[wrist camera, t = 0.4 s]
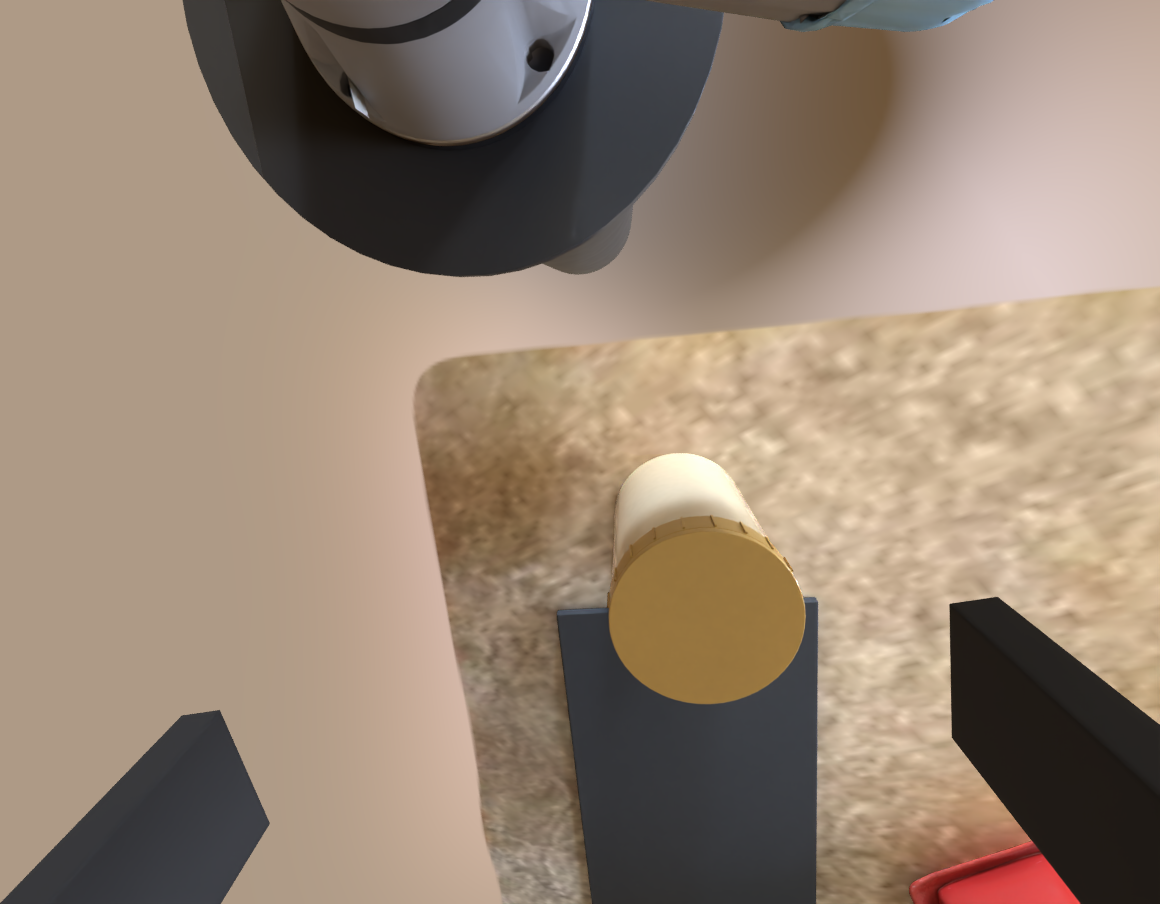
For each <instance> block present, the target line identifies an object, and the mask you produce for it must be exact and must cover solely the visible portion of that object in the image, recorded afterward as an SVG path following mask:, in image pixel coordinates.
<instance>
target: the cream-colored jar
mask: <svg viewBox="0 0 1160 904" xmlns="http://www.w3.org/2000/svg"><path fill="white" fill-rule="evenodd" d="M710 515H713V516H714V517H721V518H725V519H729V520H733V521H736V522H740V521H741V522H743V524H744V525H746V526H748V527H750V528H752V529H753V530H755V531H757V532H758V533H760V534H761V535H762V536H764V537H765V536H767V535H766V534H765V532H764V530H763V529H762V527H761V525H760V524H759V522H758V520H757V519H756V517H755V515H754V514H753V512H752V511H751V509H750V507H749V506H748V504H747V502H746V501H745V499H744V497H743V496H742V494H741V492H740V491H739V489H738V487H737V486H736V484H735V482H734V481H733V479H732V478H731V477H730V476H729V474H728V473H727V472H726V471H725V470H724V469H723V468H721V467H720V466H719V465H717V464H716V463H714V462H712V461H710V460H709V459H706V458H703V457H701V456H697V455H693V454H685V453H674V454H667V455H663V456H659V457H656V458H654V459H651V460H649V461H647V462H646V463H644V464H642V465H641V466H640V467H638V468H637V469H636V470H635V471H634V472H633V473H632V474H631V475H630V476H629V477H628V478H627V480H626V481H625V482H624V484H623V486H622V487H621V489H620V492H619V494H618V497H617V501H616V507H615V524H614V550H613V575H614V568H615V567H617V566H618V564H619V562H620V560H621V559H622V557H623V555H624V554H625V553H626V552H627V550H628V549H629V545H630V544H631V545H633V544H634V543H635V542H636V541H637V540H638V539H639V538H640V537H642V536H643V535H645V534H646V533H647V532H649V531H650V530H652V527H654V528H656V527H658V526H660V525H662V524H665V523H667V522H670V521H673V520H677V519H680V517H683V518H685V517H693V516H710ZM612 579H613V576H612Z"/></svg>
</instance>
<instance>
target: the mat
mask: <svg viewBox="0 0 1160 904" xmlns="http://www.w3.org/2000/svg"><path fill="white" fill-rule="evenodd" d="M803 600H804V604H805V615H806V618H805V629H804V633H803V638H802V641H801V644H800V646H799V649H798V651H797V653H796V655H795V656H794V658H793V660H792V661H791V663H790V664H789V665H788V667H787V668H786V669H785V670H784V671H783V672H782V673H781V674H780V675H779V676H778V677H777V678H776V679H775V680H774V681H773V682H771V683H770V684H769V685H767V686H766V687H764V688H762V689H761V690H759V691H757V692H755V693H753V694H751V695H749V696H747V697H744V698H741V699H738V700H735V701H730V702H725V703H717V704H695V703H687V702H682V701H678V700H674V699H671V698H669V697H666V696H663V695H661V694H659V693H657V692H655V691H653V690H651V689H650V688H648V687H647V686H645V685H644V684H642V683H641V682H640V681H639V680H638V679H637V678H635V677H634V676H633V675H632V674H631V672H630V671H629V670H628V669H627V668H626V667H625V665H624V664H623V662H622V661H621V659H620V658H619V656H618V654H617V652H616V650H615V648H614V645H613V642H612V639H611V635H610V629H609V608H594V609H574V610H558V612H557V621H558V629H559V638H560V646H561V654H562V662H563V670H564V678H565V687H566V695H567V703H568V711H569V719H570V727H571V736H572V744H573V752H574V760H575V768H576V776H577V784H578V793H579V801H580V809H581V817H582V825H583V833H584V842H585V850H586V858H587V866H588V874H589V882H590V891H591V899H592V904H816V829H817V673H818V601H817V600H816V598H815V597H809V598H803Z"/></svg>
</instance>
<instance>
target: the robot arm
mask: <svg viewBox="0 0 1160 904" xmlns="http://www.w3.org/2000/svg"><path fill="white" fill-rule="evenodd" d="M281 1H282V4H283V6H284V8H285V10H286V12H287V14H288V16H289V18H290V20H291V22H292V25H293V27H294V29H295V31H296V33H297V35H298V37H299V39H300V41H301V43H302V45H303V47H304V49H305V50H306V52H307V54H308V56H309V58H310V59H311V61H312V62H313V64H314V66H315V67H316V69H317V70H318V72H319V73H320V74H321V76H322V77H323V78H324V80H325V81H326V82H327V84H328V85H329V86H330V87H331V88H332V89H333V91H334V92H335V93H336V94H337V95H338V96H339V97H340V98H341V99H342V100H343V101H344V102H345V103H346V104H348V105H349V106H350V107H351V108H352V109H353V110H355V111H356V112H357V113H359V114H360V115H361V116H363V117H364V118H365V119H367V120H368V121H370V122H371V123H373V124H374V125H375V126H377V127H379V128H380V129H382V130H383V131H385V132H387V133H388V134H390V135H392V136H394V137H396V138H398V139H400V140H403V141H406V142H409V143H411V144H414V145H418V146H422V147H426V148H432V149H439V150H464V149H471V148H477V147H482V146H485V145H488V144H491V143H495V142H497V141H499V140H502V139H504V138H506V137H508V136H510V135H512V134H513V133H515V132H517V131H519V130H520V129H522V128H523V127H525V126H526V125H527V124H529V123H530V122H532V121H533V120H534V119H535V118H536V117H537V116H538V115H540V114H541V113H542V112H543V111H544V110H545V109H546V108H547V107H548V105H549V104H550V103H551V102H552V101H553V100H554V99H555V97H556V96H557V95H558V93H559V92H560V91H561V90H562V88H563V87H564V85H565V83H566V82H567V80H568V79H569V77H570V75H571V73H572V72H573V70H574V68H575V66H576V64H577V62H578V59H579V57H580V55H581V52H582V50H583V47H584V44H585V41H586V38H587V35H588V31H589V27H590V23H591V18H592V14H593V6H594V0H281ZM647 1H653V2H660V3H666V4H673V5H679V6H686V7H692V8H699V9H706V10H712V11H719V12H725V13H732V14H738V15H745V16H752V17H758V18H764V19H771V20H777V21H780V22H781V24H782V25H783V26H784V28H786V29H790V30H796V31H801V32H805V31H816V30H819V29H822V28H825V27H828V26H831V25H834V26H847V27H859V28H871V29H882V30H892V31H903V32H908V31H909V32H910V31H921V30H927V29H932V28H936V27H940V26H943V25H946V24H948V23H950V22H952V21H953V20H955V19H957V18H958V17H960V16H962V15H964V14H965V13H967V12H968V11H971V10H974V9H976V8H977V7H979V6H982V5H985V4H987V3H990V2H992V1H993V0H647ZM950 655H951V712H952V738H953V740H954V741H955V742H956V743H957V745H958V746H959V747H960V749H961V750H962V751H963V752H964V754H965V755H966V756H967V758H968V759H969V760H970V762H971V763H972V764H973V765H974V767H975V768H976V769H977V771H978V772H979V773H980V774H981V776H982V777H983V778H984V780H985V781H986V782H987V783H988V785H989V786H990V787H991V789H992V790H993V791H994V793H995V794H996V795H997V796H998V798H999V799H1000V800H1001V802H1002V803H1003V804H1004V805H1005V807H1006V808H1007V809H1008V811H1009V812H1010V813H1011V814H1012V816H1013V817H1014V818H1015V820H1016V821H1017V822H1018V824H1019V825H1020V826H1021V827H1022V829H1023V830H1024V831H1025V833H1026V834H1027V835H1028V836H1029V838H1030V839H1031V840H1032V842H1033V843H1034V844H1035V846H1036V847H1037V848H1038V849H1039V851H1040V852H1041V853H1042V855H1043V856H1044V857H1045V858H1046V860H1047V861H1048V862H1049V864H1050V865H1051V866H1052V867H1053V869H1054V870H1055V871H1056V873H1057V874H1058V875H1059V877H1060V878H1061V879H1062V880H1063V882H1064V883H1065V884H1066V886H1067V887H1068V888H1069V889H1070V891H1071V892H1072V893H1073V895H1074V896H1075V897H1076V898H1077V900H1078V901H1079V902H1080V904H1160V725H1159V724H1158V723H1157V722H1155V721H1154V720H1153V719H1152V718H1150V717H1149V716H1148V715H1147V714H1145V713H1144V712H1143V711H1141V710H1140V709H1139V708H1138V707H1136V706H1135V705H1134V704H1133V703H1131V702H1130V701H1129V700H1128V699H1126V698H1125V697H1124V696H1122V695H1121V694H1120V693H1119V692H1117V691H1116V690H1115V689H1114V688H1112V687H1111V686H1110V685H1109V684H1107V683H1106V682H1105V681H1103V680H1102V679H1101V678H1100V677H1098V676H1097V675H1096V674H1095V673H1093V672H1092V671H1091V670H1090V669H1088V668H1087V667H1086V666H1084V665H1083V664H1082V663H1081V662H1079V661H1078V660H1077V659H1076V658H1074V657H1073V656H1072V655H1071V654H1069V653H1068V652H1067V651H1065V650H1064V649H1063V648H1062V647H1060V646H1059V645H1058V644H1057V643H1055V642H1054V641H1053V640H1052V639H1050V638H1049V637H1048V636H1046V635H1045V634H1044V633H1043V632H1041V631H1040V630H1039V629H1038V628H1036V627H1035V626H1034V625H1033V624H1031V623H1030V622H1029V621H1027V620H1026V619H1025V618H1024V617H1022V616H1021V615H1020V614H1019V613H1017V612H1016V611H1015V610H1014V609H1012V608H1011V607H1010V606H1008V605H1007V604H1006V603H1005V602H1003V601H1002V600H1001V599H1000V598H998V597H994V598H987V599H980V600H973V601H966V602H959V603H952V604H950ZM268 826H269V821H268V819H267V816H266V814H265V811H264V809H263V807H262V805H261V803H260V800H259V798H258V796H257V793H256V791H255V789H254V787H253V784H252V782H251V780H250V778H249V776H248V773H247V771H246V769H245V766H244V764H243V762H242V760H241V757H240V755H239V753H238V750H237V748H236V746H235V744H234V741H233V739H232V737H231V735H230V732H229V730H228V728H227V725H226V723H225V721H224V719H223V716H222V714H221V712H220V710H217V711H211V712H204V713H197V714H190V715H183V716H181V717H180V718H179V719H178V720H177V721H176V722H175V723H174V724H173V725H172V727H171V728H169V730H168V731H167V732H166V733H165V734H164V735H163V736H162V737H161V738H160V739H159V740H158V741H157V742H156V743H155V744H154V745H153V746H152V747H151V748H150V749H149V750H148V751H147V752H146V753H145V754H144V755H143V756H142V758H140V759H139V760H138V762H137V763H136V764H135V765H134V766H133V767H132V768H131V769H130V770H129V771H128V772H127V773H126V774H125V775H124V776H123V777H122V778H121V779H120V780H119V781H118V782H117V783H116V784H115V785H114V786H113V787H112V788H111V789H110V791H108V793H107V794H106V795H105V796H104V797H103V798H102V799H101V800H100V801H99V802H98V803H97V804H96V805H95V806H94V807H93V808H92V809H91V810H90V811H89V812H88V813H87V814H86V815H85V816H84V817H83V818H82V819H81V821H79V822H78V823H77V824H76V826H75V827H74V828H73V829H72V830H71V831H70V832H69V833H68V834H67V835H66V836H65V837H64V838H63V839H62V840H61V841H60V842H59V843H58V844H57V845H56V846H55V847H54V849H52V850H51V851H50V852H49V853H48V854H47V856H46V857H45V858H44V859H43V860H42V861H41V862H40V863H39V864H38V865H37V866H36V867H35V868H34V869H33V870H32V871H31V872H30V873H29V874H28V875H27V876H26V877H25V878H24V879H23V881H21V882H20V883H19V884H18V885H17V887H16V888H14V890H13V891H12V892H11V893H10V894H9V895H8V896H7V897H6V898H5V899H4V900H3V901H2V902H1V903H0V904H221V902H222V901H223V899H224V897H225V896H226V894H227V893H228V891H229V889H230V888H231V886H232V884H233V883H234V881H235V880H236V878H237V876H238V875H239V873H240V871H241V870H242V868H243V866H244V865H245V863H246V861H247V860H248V858H249V857H250V855H251V853H252V852H253V850H254V848H255V847H256V845H257V844H258V842H259V840H260V839H261V837H262V835H263V834H264V832H265V831H266V829H267V827H268Z"/></svg>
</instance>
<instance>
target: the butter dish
mask: <svg viewBox="0 0 1160 904" xmlns="http://www.w3.org/2000/svg"><path fill="white" fill-rule="evenodd" d="M909 894H910V896H911V899H912V901H913V903H914V904H1080V902H1079V901H1078V900H1077V898H1076V897H1075V896H1074V895H1073V893H1072V892H1071V891H1070V889H1069V888H1068V887H1067V886H1066V884H1065V883H1064V882H1063V880H1062V879H1061V878H1060V877H1059V875H1058V874H1057V873H1056V871H1055V870H1054V869H1053V867H1052V866H1051V865H1050V864H1049V862H1048V861H1047V860H1046V858H1045V857H1044V856H1043V855H1042V853H1041V852H1040V851H1039V849H1038V848H1037V847H1036V846H1035V844H1034V843H1033V842H1032V841H1030V842H1027V843H1024V844H1021V845H1019V846H1015V847H1012V848H1009V849H1005V850H1003V851H1000V852H997V853H994V854H990V855H987V856H984V857H981V858H977V859H975V860H972V861H968V862H965V863H962V864H959V865H956V866H953V867H950V868H947V869H943V870H940V871H937V872H934V873H930V874H928V875H926V876H924V877H922V878H920V879H918V880H916V881H914V882H913V883H912V884H911V885H910V887H909Z"/></svg>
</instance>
